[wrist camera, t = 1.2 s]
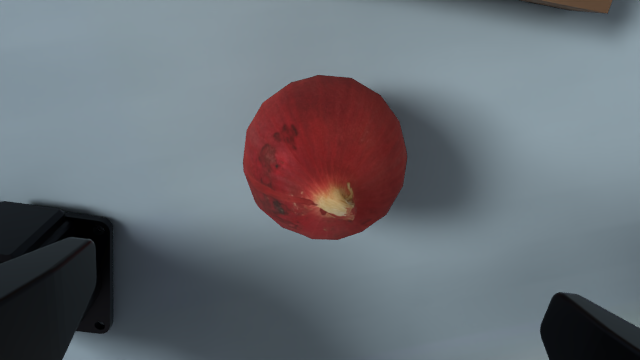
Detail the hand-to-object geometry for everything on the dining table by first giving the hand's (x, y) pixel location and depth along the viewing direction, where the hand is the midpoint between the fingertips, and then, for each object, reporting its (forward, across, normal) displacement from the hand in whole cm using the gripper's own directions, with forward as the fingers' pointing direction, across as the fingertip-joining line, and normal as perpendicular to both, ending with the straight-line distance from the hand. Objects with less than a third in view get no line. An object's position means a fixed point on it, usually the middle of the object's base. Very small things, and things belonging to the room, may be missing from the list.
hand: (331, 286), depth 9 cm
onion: (+12, 0, 0) cm, 12 cm away
